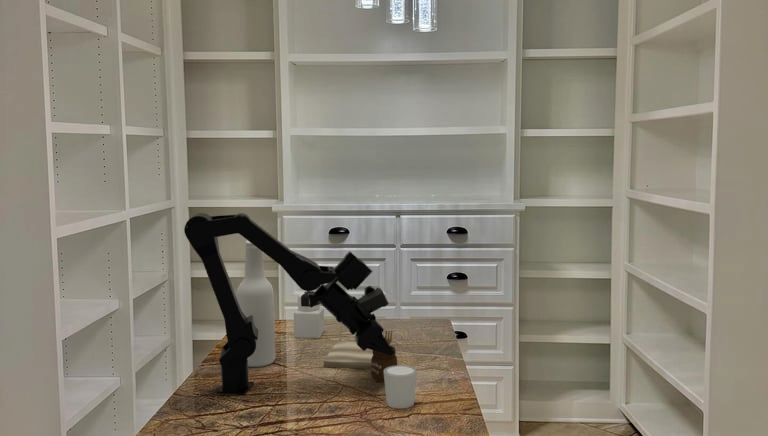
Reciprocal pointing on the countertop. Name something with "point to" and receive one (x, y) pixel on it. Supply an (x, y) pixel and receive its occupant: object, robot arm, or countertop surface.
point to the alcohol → (258, 306)
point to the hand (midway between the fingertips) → (390, 349)
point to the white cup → (400, 386)
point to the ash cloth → (348, 356)
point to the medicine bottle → (308, 318)
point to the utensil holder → (382, 361)
